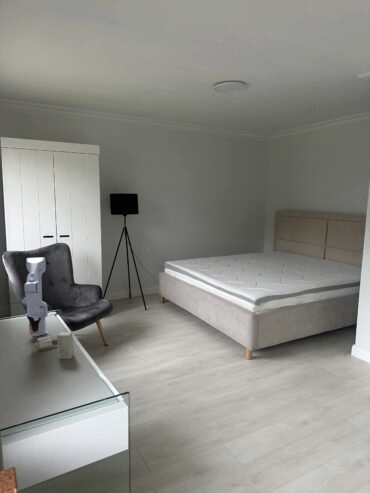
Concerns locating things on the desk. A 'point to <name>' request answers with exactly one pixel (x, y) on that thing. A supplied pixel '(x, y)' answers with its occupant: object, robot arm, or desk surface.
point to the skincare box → (65, 345)
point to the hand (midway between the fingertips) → (34, 329)
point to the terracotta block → (32, 330)
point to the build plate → (46, 343)
